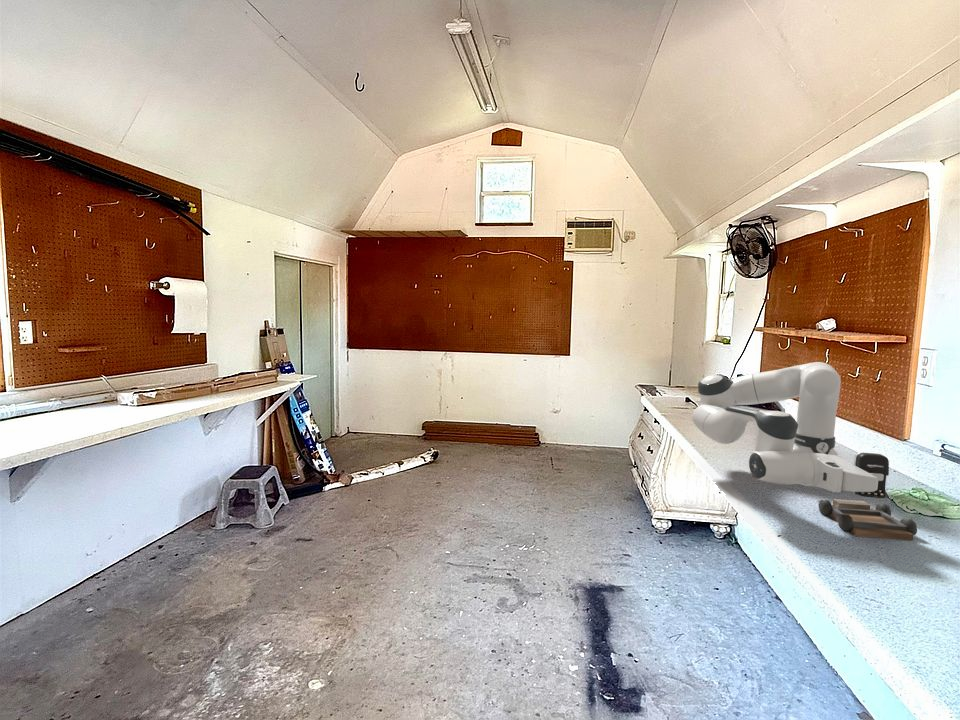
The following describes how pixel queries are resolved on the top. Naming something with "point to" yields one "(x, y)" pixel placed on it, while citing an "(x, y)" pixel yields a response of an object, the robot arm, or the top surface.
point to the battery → (870, 465)
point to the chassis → (868, 519)
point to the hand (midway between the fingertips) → (875, 473)
